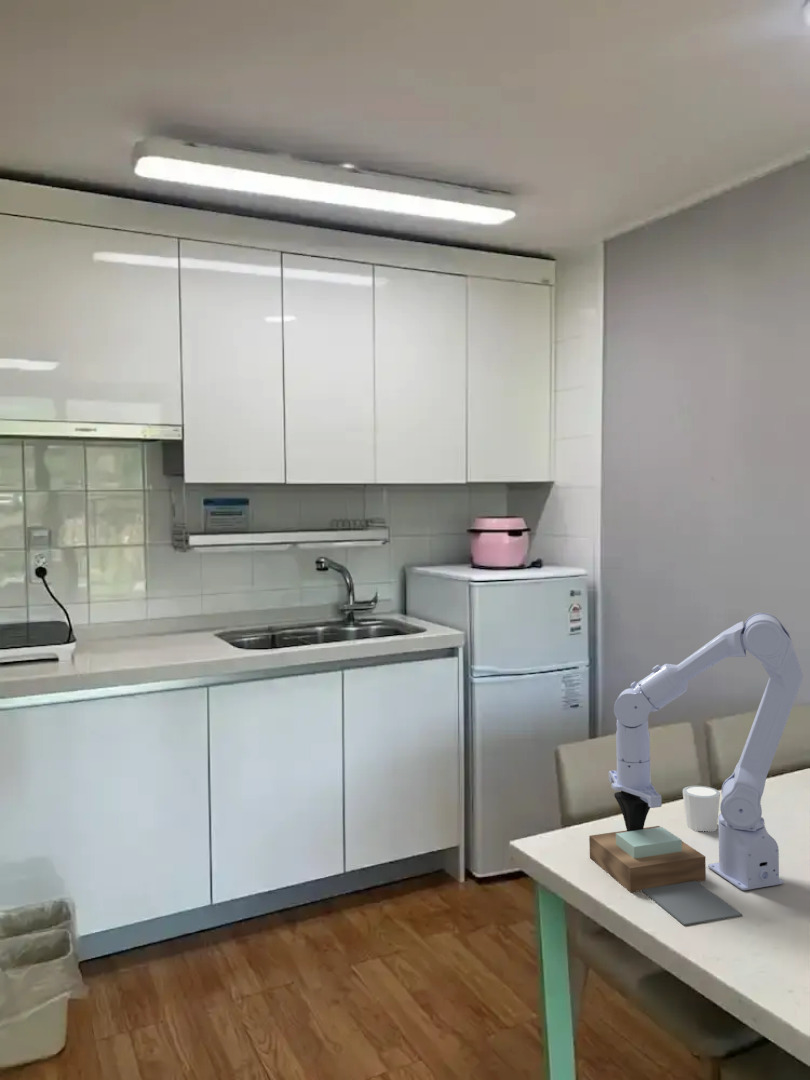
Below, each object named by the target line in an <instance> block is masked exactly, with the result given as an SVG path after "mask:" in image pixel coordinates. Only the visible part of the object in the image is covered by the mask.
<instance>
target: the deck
mask: <svg viewBox="0 0 810 1080" xmlns="http://www.w3.org/2000/svg"><path fill="white" fill-rule="evenodd" d="M657 827H661V826H660V825H656V826H649V827H647V826H646V827H644V828H643V829H650V828H657ZM622 832H627V829H626V830H620V831H612V832H605V833H601V834H600V833H599V834H591V835H589V839H588V840H589V858H590V859H591V860H592V861H593V862H594V863H595V864H596V865H598V866H599V867H600V868H601V869H602V870H604V871H605V872H606V873H607V874H608V875H610V876H611V877H612V878H613V879H614V880H616V881H617V882H618V884H620V885H621V886H622V887H624V889H626V890H627V891H628V892H629V893H634V892H635V893H636V892H643V891H642V889H647V888H653V887H659V886H665V885H672V884H678V883H684V882H690V881H697V882H702V881H707V879H706V878H707V877H706V876H707V873H706V872H707V870H706V865H707V864H706V855H704V854H702V853H701V852H700V851H698V850H696V849H694V848H693V847H692V846H690V845H689V844H687V843H686V842H684V841H683V840H682V851H681V852H674V853H668V854H661V855H655V856H648V857H642V858H635V859H634V858H633V857H631V856H630V855H629V854H627V853H626V852H625V851H624V850H622V849H621V848H620V847H618V846H617V845H616V833H622Z"/></svg>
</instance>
